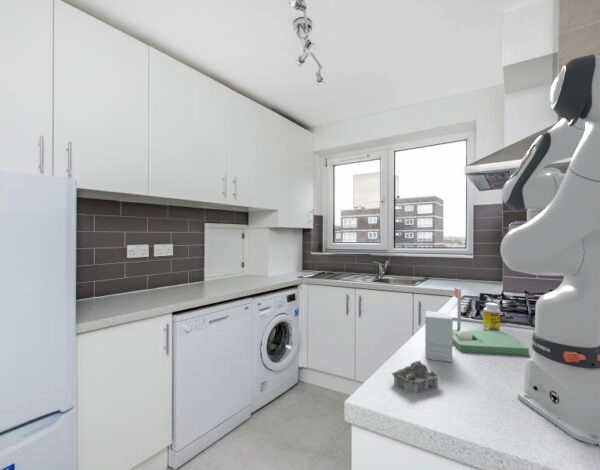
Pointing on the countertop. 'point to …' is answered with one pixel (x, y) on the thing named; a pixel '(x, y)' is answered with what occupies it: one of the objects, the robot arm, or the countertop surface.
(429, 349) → the supplement box
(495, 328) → the supplement bottle
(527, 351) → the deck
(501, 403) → the countertop surface
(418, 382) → the egg carton
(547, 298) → the robot arm
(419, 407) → the countertop surface
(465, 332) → the ball
